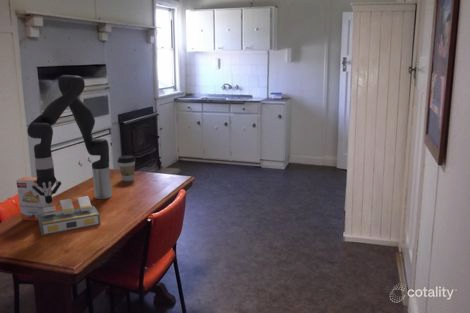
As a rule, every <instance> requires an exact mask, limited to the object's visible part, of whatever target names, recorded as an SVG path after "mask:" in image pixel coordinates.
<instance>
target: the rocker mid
mask: <svg viewBox="0 0 470 313" xmlns="http://www.w3.org/2000/svg"><path fill="white" fill-rule="evenodd" d="M59 202H60V208H61V211H62V212H63V215H66V214H72V213H74V209H75V207H74V204H73V201H72V198H66V199H60V200H59Z"/></svg>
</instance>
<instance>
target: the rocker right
mask: <svg viewBox="0 0 470 313" xmlns="http://www.w3.org/2000/svg"><path fill="white" fill-rule="evenodd" d="M77 203H78V206H79V208H80V210H81V212H83V211H89V210H92V206H93V205H92V204H91V201H90V198H89V195H85V196H79V197H77Z"/></svg>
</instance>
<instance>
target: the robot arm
mask: <svg viewBox="0 0 470 313" xmlns="http://www.w3.org/2000/svg"><path fill="white" fill-rule="evenodd" d="M57 85H58V89H59V91H60V93H61V94H62V95H61V96H59V97H58V98H56V99H54V100H53V101H51V102H50V103H49V104H48V105H47V106H46V107H45V109H44V110H43V112H42V113H41V114H40V115H39V116H37V117H36V118H34V120H32V121H31V122H30V123H29V125H28V126H27V130H26V131H27V135H28V137H30V138H31V139H37V140H38V139H40V143H37V144H35V145H34V146H33V153H34V167H35V172H36V178H37V180H36V183H35V184H34V185H32V188H33V189H34V190H35V191H36V192H38V193H39V194H40V195H41V196H45V201H46V203H47V204H50V203H53V196H52V195H54V194H56V193H57V192H58V190H59V188H60V187H61V185H62V182H61V181H59V180H57V178H56V176H55V168H54V167H55V166H54V160H53V156H52V141H53V135H54V129H53V127H52V126H54V125H55V124H56V123H57V122H58V120H59V119H60V117H61V116H62V114H63V113H64V112H65V110H66V109H68V108H69V109H70V112H71V113H72V115H73V119H74V121H75V122H76V125H77V127H78V130H79V131H80V133H81V137H82V139H83V142H84V145H85V149H86V151H87V153H88V154H89V155H90V156H99V159H98V160H95V161H93V162H92V163H91V170H92V180H93V190H94V198H95V199H96V200H97V199H98V200H105V199H106V200H107V199H110V198H111V197H112V196H113V194H112V181H111V173H110V172H111V171H110V147H109V141H108V140H107V139H106V138H94V137H93V135H92V132H93V129H94V127H95V123H96V119H95V116H94V113H93V112H92V109H91V108H90V107H89V106H88V105H87V104H86V103H85V102H83V101H82V100H81V98H79V97H80V95H82V93H83V92H84V90H85V86H86V84H85V80H84V78H83V77H82V76H79V75H70V74H62V75H60V76H59V77H58V80H57ZM37 185H39V186H40V187H41V188H42V189H43V190H44V192H42V191H41V190H39V189H38V186H37ZM54 185H55V186H54ZM47 188H48V194H47ZM52 188H53V189H52Z"/></svg>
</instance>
